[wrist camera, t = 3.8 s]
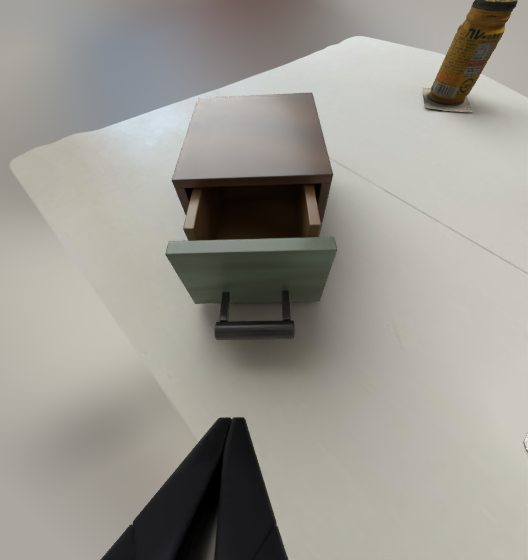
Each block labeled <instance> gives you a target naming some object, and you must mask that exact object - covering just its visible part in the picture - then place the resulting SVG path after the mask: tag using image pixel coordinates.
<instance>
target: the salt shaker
mask: <svg viewBox="0 0 528 560" xmlns="http://www.w3.org/2000/svg"><path fill="white" fill-rule="evenodd" d="M524 444H525V447H526V449H527V451H528V434H527V436H526V438H525V440H524Z"/></svg>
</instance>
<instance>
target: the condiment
mask: <svg viewBox="0 0 528 560" xmlns="http://www.w3.org/2000/svg"><path fill="white" fill-rule="evenodd" d="M516 4H517V0H475V1H474V2H473V5H472V7H471V10H470V12H469V13H468V15H467V17H466V18H467V19H466V20H465V21H464V22H463V23H462V24H461V25H460V27H459V28H458V31H457V33H456V35H455V37H454V39H453V41H452V44H451V46H450V48H449V50H448V52H447V55H446V57H445V59H444V61H443V63H442V66H441V68H440V70H439V72H438V74H437V77H436V79H435V81H434V83H433V85H432V87H431V88H423V95H424V101H425V107H426V108H431V109H436V110H444V111H451V112H453V111H459V112H471V113H472V110H471V106H470V104H469V102H468V99H467V97H466V96H467V95H468V94H469V93H470V91H471V89H472V87H473V86H474V84H475V83H476V81H477V79H478V77H479V75H480V74H481V72H482V70H483V68H484V66H485V65H486V63H487V61H488V59H489V58H490V56H491V54H492V52H493V51H494V49H495V48H496V46H497V43H498V42H499V40H500V39H501V37H502V35H503V33H504V30H505V23H506V22H507V21H508V19H509V18H510V15H511V12H512V11H513V9H514V8H515V7H516Z"/></svg>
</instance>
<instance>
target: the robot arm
mask: <svg viewBox="0 0 528 560" xmlns="http://www.w3.org/2000/svg"><path fill="white" fill-rule="evenodd" d="M101 560H288V557H287V554H286V551H285V548H284V545H283V542H282V539H281V536H280V532H279V529H278V526H277V523H276V520H275V516H274V513H273V510H272V506H271V503H270V500H269V496H268V493H267V490H266V486H265V483H264V480H263V477H262V473H261V470H260V467H259V463H258V460H257V457H256V453H255V450H254V447H253V444H252V440H251V437H250V434H249V430H248V427H247V424H246V420H245V418H243V417H234V418H232V419H231V418H219V419H218V420H217V421H216V422H215V423H214V424H213V426H212V427H211V428H210V429H209V430H208V432H207V433H206V434H205V435H204V436H203V438H202V439H201V440H200V441H199V442H198V444H197V445H196V446H195V447H194V448H193V450H192V451H191V452H190V453H189V454H188V456H187V457H186V458H185V459H184V461H183V462H182V463H181V464H180V465H179V467H178V468H177V469H176V470H175V472H174V473H173V474H172V475H171V476H170V477H169V479H168V480H167V481H166V482H165V484H164V485H163V486H162V487H161V488H160V490H159V491H158V492H157V493H156V494H155V496H154V497H153V498H152V499H151V500H150V502H149V503H148V504H147V505H146V506H145V508H144V509H143V510H142V511H141V512H140V514H139V515H138V516H137V517H136V518H135V520H134V521H133V525H130V526H129V527H128V528H127V529H126V530H125V532H124V533H123V534H122V535H121V536H120V538H119V539H118V540H117V541H116V542H115V543H114V545H113V546H112V547H111V548H110V549H109V551H108V552H107V553H106V554H105V555H104V556H103V557H102V559H101Z"/></svg>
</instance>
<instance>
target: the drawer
mask: <svg viewBox="0 0 528 560" xmlns="http://www.w3.org/2000/svg"><path fill="white" fill-rule="evenodd" d="M320 226H321V223H320V217H319V212H318V206H317V200H316V195H315V189H314V184H286V185H258V186H229V187H200V188H193V190H192V194H191V198H190V203H189V207H188V211H187V215H186V219H185V223H184V228H183V229H184V232H185V234H186V236H187V238H188V241H169V243H168V246H167V250H166V256H167V258H168V260H169V261H170V263H171V265H172V266H173V268H174V269H175V271H176V273H177V274H178V276H179V278H180V279H181V281H182V283H183V284H184V286H185V288H186V289H187V291H188V292H189V294H190V296H191V297H192V299H193V301H194V302H195V304H205V303H221V311H220V322H216V325H215V338H216V340H249V339H294V337H295V328H294V321H293V320H291V315H290V302H304V301H320V299H321V296H322V293H323V290H324V287H325V284H326V281H327V278H328V275H329V272H330V269H331V266H332V263H333V260H334V257H335V254H336V251H337V248H336V243H335V238H334V237H318V235H319V231H320ZM255 302H282V313H283V320H282V321H228V317H229V304H230V303H255Z"/></svg>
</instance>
